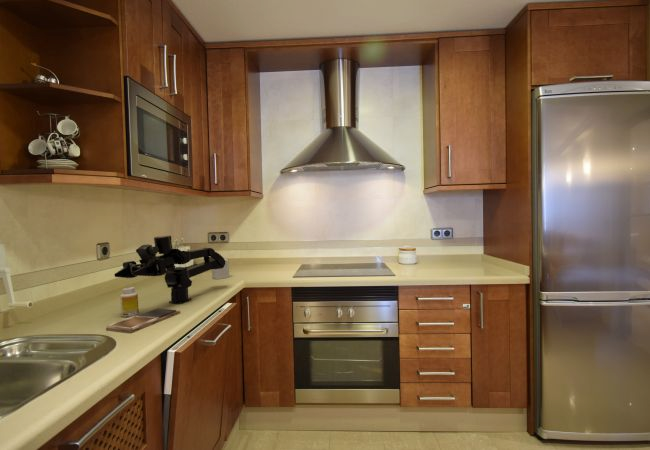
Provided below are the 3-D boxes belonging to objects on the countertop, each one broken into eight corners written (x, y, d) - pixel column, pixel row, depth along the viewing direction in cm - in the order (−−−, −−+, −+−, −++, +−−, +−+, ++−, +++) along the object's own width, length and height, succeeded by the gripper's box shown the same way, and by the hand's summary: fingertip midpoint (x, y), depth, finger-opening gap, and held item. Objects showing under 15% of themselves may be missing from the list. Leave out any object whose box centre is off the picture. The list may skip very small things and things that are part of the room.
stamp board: (157, 311, 130) (157, 307, 130) (180, 313, 127) (180, 309, 126) (106, 330, 111) (105, 325, 110) (131, 333, 107) (130, 328, 107)
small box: (224, 276, 196) (224, 258, 196) (229, 277, 192) (228, 259, 192) (211, 278, 191) (210, 260, 190) (216, 279, 187) (215, 261, 186)
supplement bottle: (141, 314, 127) (139, 287, 126) (124, 318, 122) (122, 290, 122) (135, 311, 130) (134, 285, 130) (119, 315, 126) (117, 288, 126)
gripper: (137, 245, 136) (100, 254, 122) (173, 241, 129) (138, 250, 115) (143, 272, 137) (107, 284, 123) (178, 269, 130) (144, 281, 116)
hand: (123, 274), depth 119 cm, fingers open, 9 cm apart
